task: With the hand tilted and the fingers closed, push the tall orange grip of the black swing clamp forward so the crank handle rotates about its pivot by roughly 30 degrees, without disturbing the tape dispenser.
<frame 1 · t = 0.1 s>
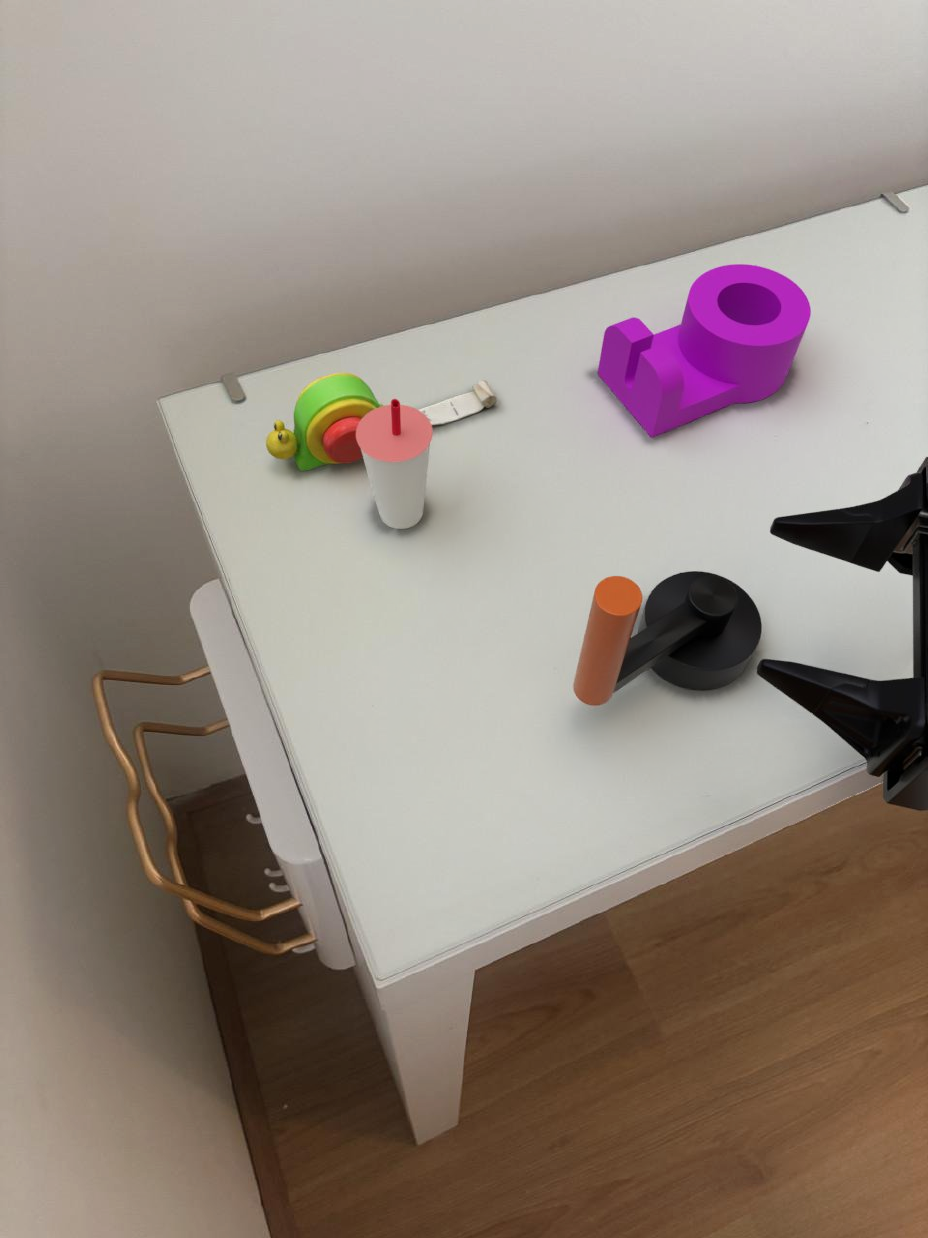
hand: (765, 592, 49), 16 cm above the table, tool horizontal, fingers open, 9 cm apart
toy measuring tape: (385, 434, 76), on the table
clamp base: (693, 640, 66), on the table
cup: (401, 513, 72), on the table
crank handle: (668, 605, 56), point 9 cm above the table, hinge at 0.0°
tape dispenser: (700, 375, 80), on the table
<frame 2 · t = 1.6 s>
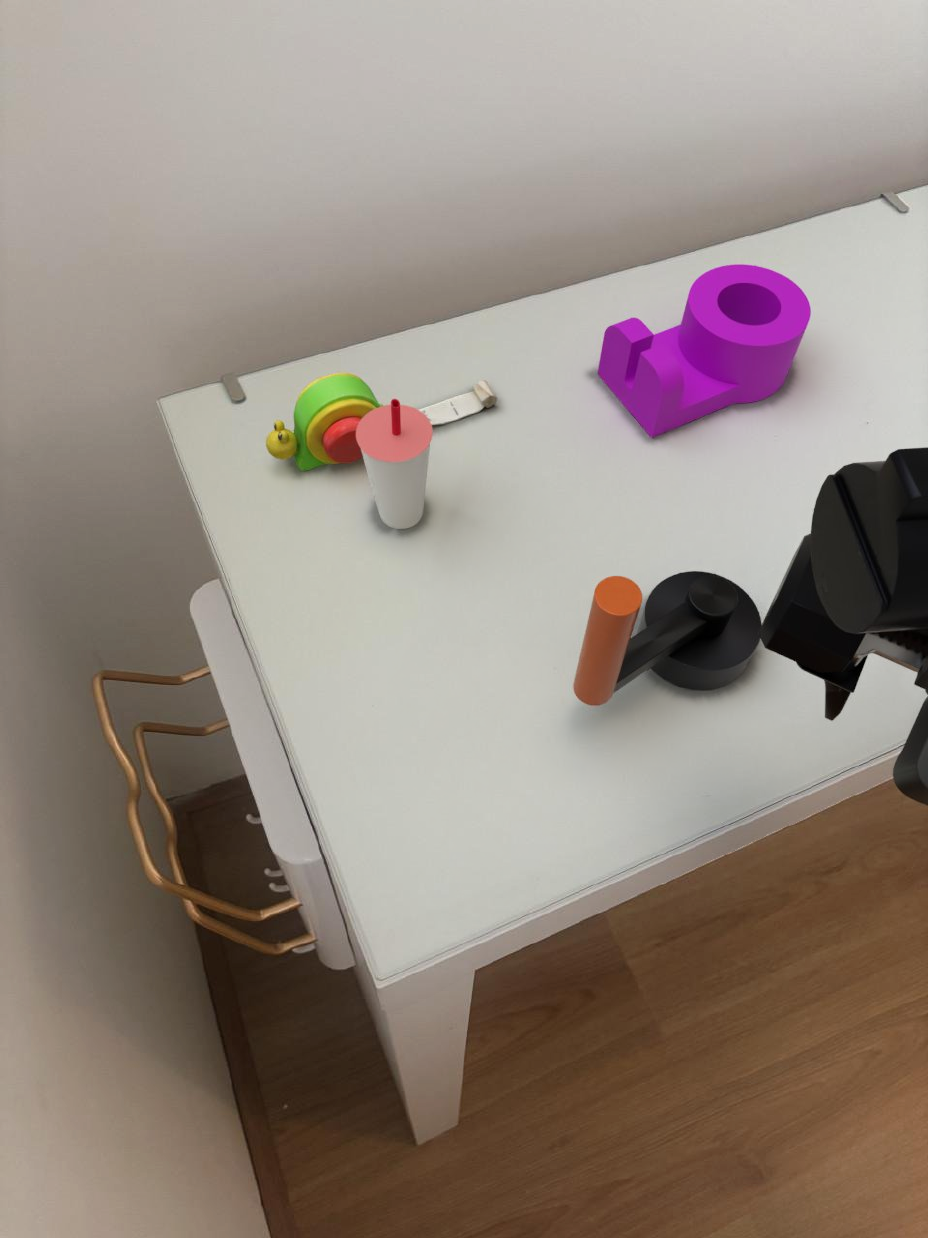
hand: (905, 747, 47), 13 cm above the table, tool pointing down, fingers open, 8 cm apart
nothing on the table moved.
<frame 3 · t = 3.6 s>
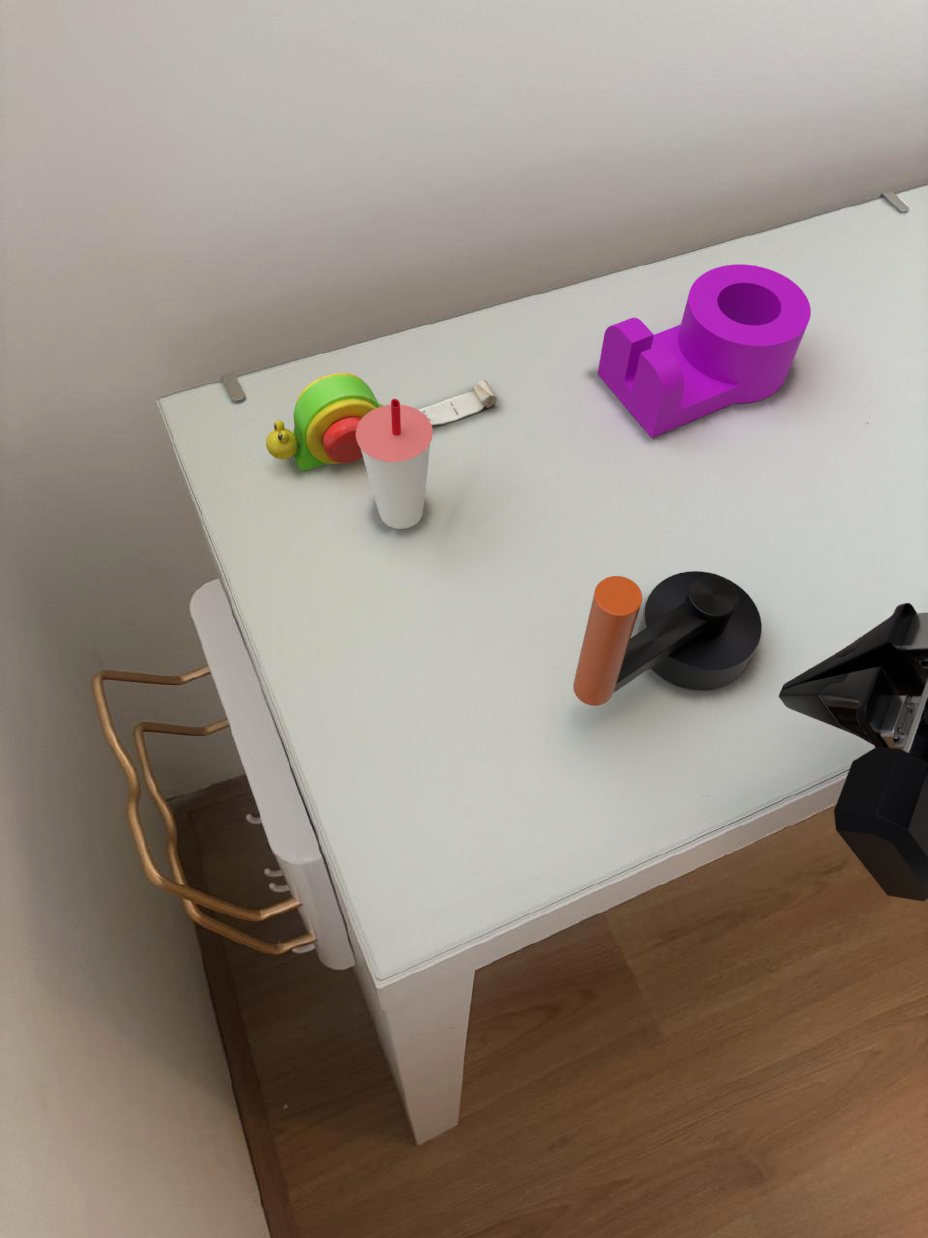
hand: (784, 696, 49), 12 cm above the table, tool tilted 45°, fingers closed
nothing on the table moved.
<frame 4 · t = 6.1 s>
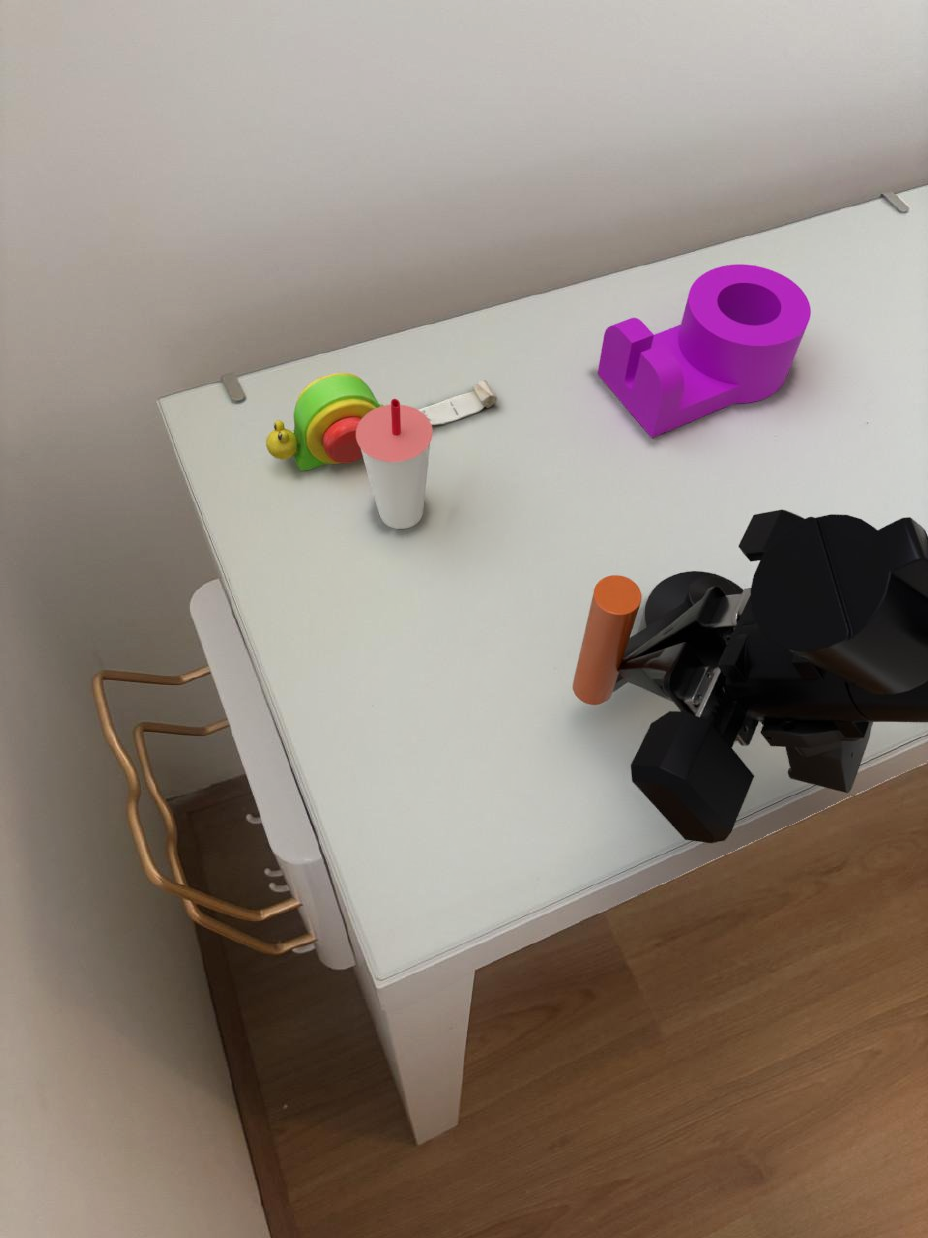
hand: (623, 670, 55), 8 cm above the table, tool tilted 45°, fingers closed, pressing on crank handle
crank handle: (667, 605, 56), point 9 cm above the table, hinge at -0.4°, touching gripper
everything else where it was.
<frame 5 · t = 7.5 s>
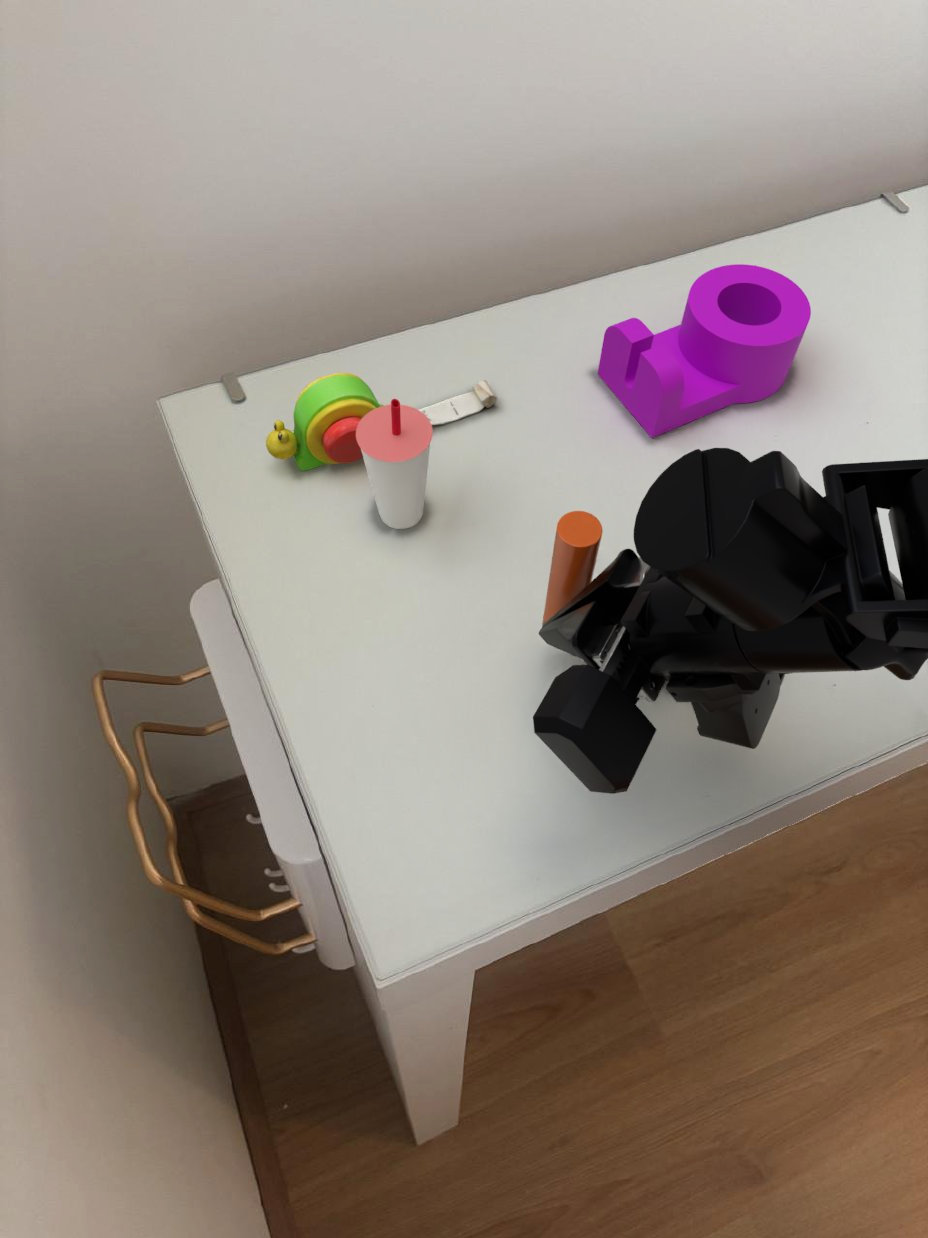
hand: (545, 634, 57), 8 cm above the table, tool tilted 45°, fingers closed
crank handle: (650, 576, 57), point 9 cm above the table, hinge at -28.1°
everything else where it was.
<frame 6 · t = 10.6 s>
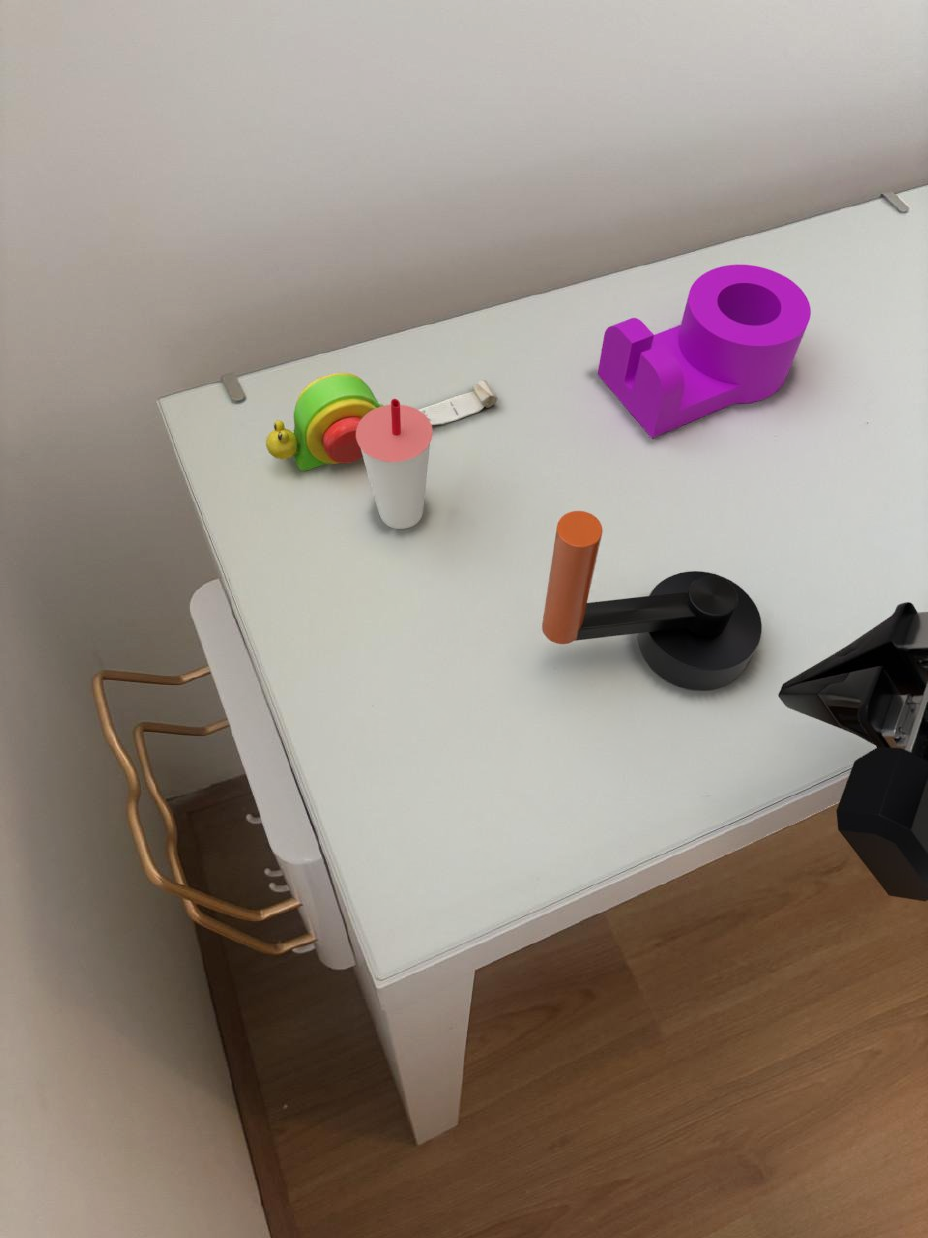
hand: (783, 695, 49), 13 cm above the table, tool tilted 45°, fingers closed
nothing on the table moved.
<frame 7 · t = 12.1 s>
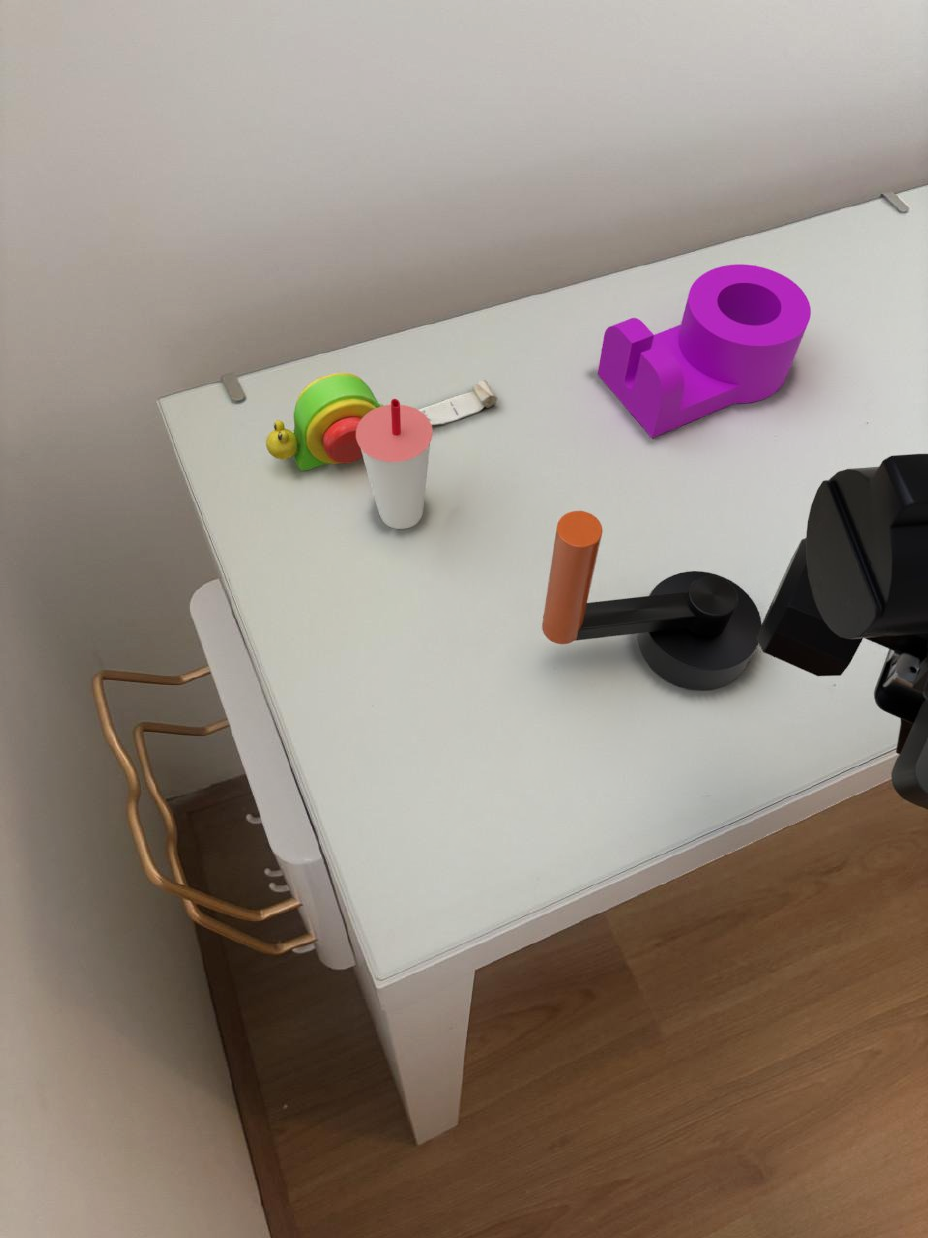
hand: (905, 749, 47), 13 cm above the table, tool pointing down, fingers closed
nothing on the table moved.
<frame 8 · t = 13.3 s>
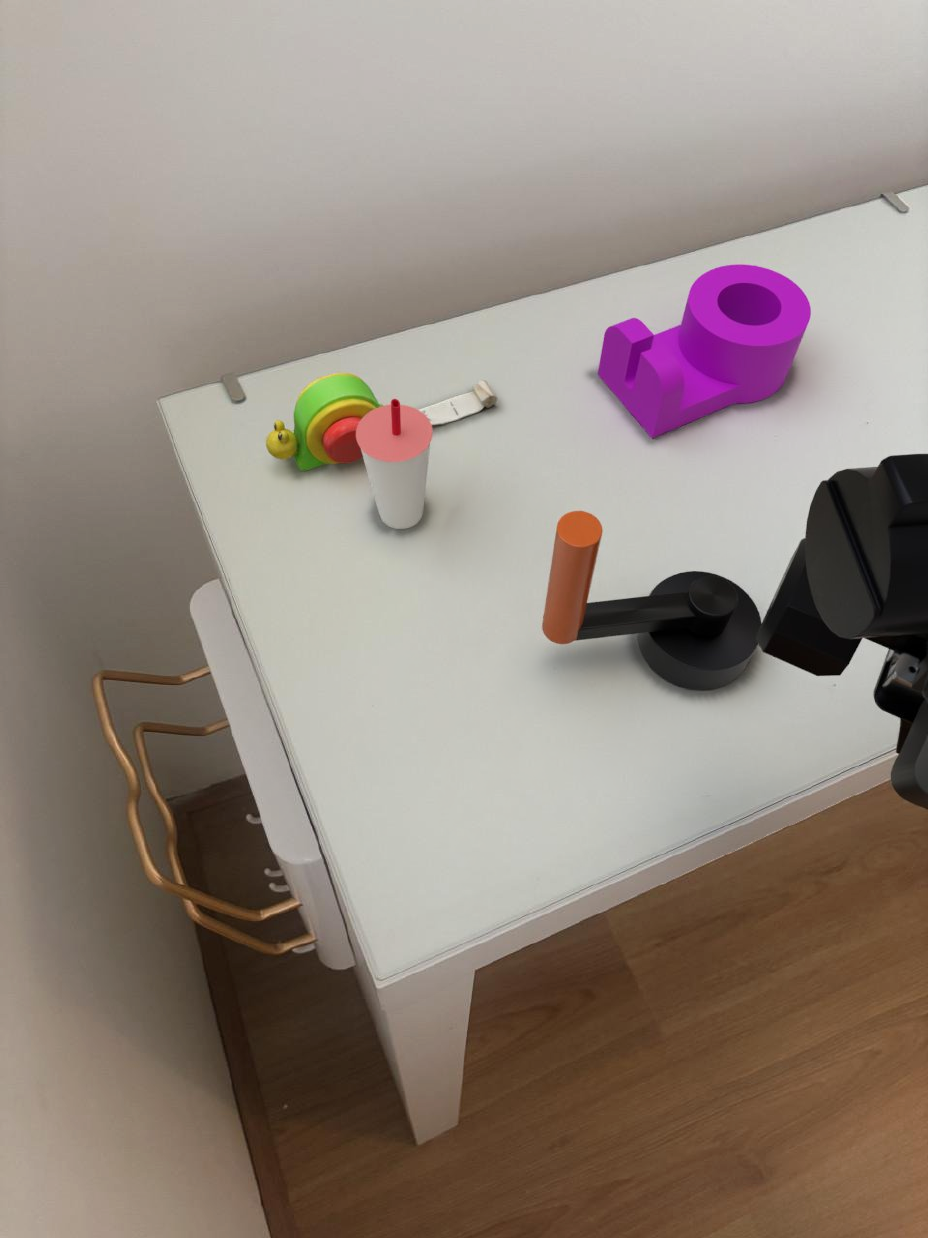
hand: (905, 748, 47), 13 cm above the table, tool pointing down, fingers closed
nothing on the table moved.
at the end: crank handle at -28° (first picture: +0°); tape dispenser moved 0.2 cm from its start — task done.
